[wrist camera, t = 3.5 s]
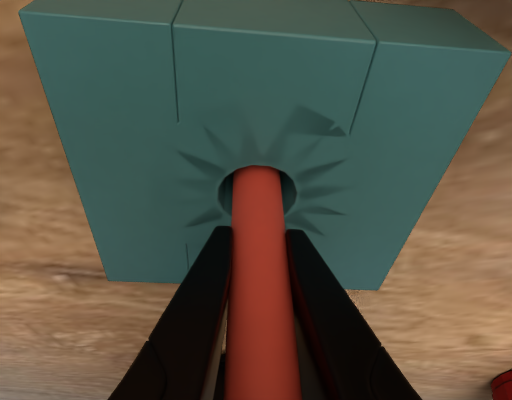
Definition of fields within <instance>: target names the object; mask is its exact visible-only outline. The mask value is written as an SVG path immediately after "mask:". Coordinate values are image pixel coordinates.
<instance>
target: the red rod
mask: <svg viewBox="0 0 512 400" xmlns="http://www.w3.org/2000/svg"><path fill="white" fill-rule="evenodd" d="M231 227H232V228H233V234H232V260H231V275H230V285H229V293H228V309H227V331H226V353H225V375H224V398H223V400H302V391H301V381H300V371H299V361H298V351H297V341H296V331H295V322H294V312H293V302H292V292H291V284H290V276H289V266H288V256H287V246H286V235H285V234H286V232H285V222H284V212H283V202H282V192H281V182H280V173H279V170H278V169H276V168H273V167H271V166H258V165H250V166H247V167H243V168H239V169H236V170H235V171H234V176H233V198H232V220H231Z"/></svg>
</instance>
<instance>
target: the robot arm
mask: <svg viewBox="0 0 512 400" xmlns="http://www.w3.org/2000/svg"><path fill="white" fill-rule="evenodd" d="M232 234H233V228H232V227H231V226H220V225H219V226H216V227H215V228H214V230H213V232H212V233H211V235H210V237H209V238H208V240H207V242H206V243H205V245H204V246H203V248H202V250H201V251H200V253H199V255H198V256H197V258H196V260H195V261H194V263H193V265H192V266H191V268H190V270H189V271H188V273H187V275H186V276H185V278H184V280H183V281H182V283H181V285H180V286H179V288H178V290H177V291H176V293H175V295H174V296H173V298H172V300H171V301H170V303H169V304H168V306H167V308H166V309H165V311H164V313H163V314H162V316H161V318H160V319H159V321H158V323H157V324H156V326H155V328H154V329H153V331H152V333H151V334H150V336H149V338H148V339H149V341H146V342H145V344H144V346H143V347H142V349H141V351H140V352H139V354H138V356H137V357H136V359H135V360H134V362H133V363H132V365H131V366H130V368H129V370H128V371H127V373H126V374H125V376H124V377H123V379H122V380H121V382H120V383H119V384H118V386H117V387H116V389H115V390H114V391H113V393H112V394H111V395H110V397H109V398H108V400H223V398H224V375H225V355H221V350H222V344H223V339H224V333H225V327H226V321H227V309H228V293H229V285H230V275H231V260H232ZM285 235H286V246H287V256H288V266H289V276H290V284H291V292H292V302H293V312H294V322H295V331H296V341H297V351H298V361H299V371H300V381H301V391H302V400H422V399H421V397H420V396H419V395H418V394H417V392H416V391H415V390H414V389H413V387H412V386H411V385H410V383H409V382H408V381H407V379H406V378H405V377H404V375H403V374H402V372H401V371H400V370H399V368H398V367H397V365H396V364H395V363H394V361H393V360H392V358H391V357H390V355H389V354H388V352H387V351H386V350H385V348H384V347H383V346H381V342H380V341H379V340H378V338H377V337H376V335H375V334H374V332H373V331H372V329H371V328H370V326H369V325H368V324H367V322H366V321H365V319H364V318H363V316H362V315H361V313H360V312H359V310H358V309H357V307H356V306H355V305H354V303H353V302H352V300H351V299H350V297H349V296H348V294H347V293H346V291H345V290H344V289H343V287H342V286H341V284H340V283H339V281H338V280H337V278H336V277H335V275H334V274H333V273H332V271H331V270H330V268H329V267H328V265H327V264H326V262H325V261H324V259H323V258H322V256H321V255H320V254H319V252H318V251H317V249H316V248H315V246H314V245H313V243H312V242H311V240H310V239H309V238H308V236H307V235H306V233H305V232H304V231H303V230H301V229H288V230H287V231H286V234H285Z"/></svg>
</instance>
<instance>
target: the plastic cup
mask: <svg viewBox="0 0 512 400" xmlns="http://www.w3.org/2000/svg"><path fill="white" fill-rule="evenodd" d="M491 389H492V392H493V394H492V397H493V400H512V371H510V372H507V373H505V374H502V375H500V376H499V377H497V378H496V379H495V380H493V382H492V384H491Z"/></svg>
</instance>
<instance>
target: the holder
mask: <svg viewBox="0 0 512 400" xmlns="http://www.w3.org/2000/svg"><path fill="white" fill-rule="evenodd" d="M19 16H20V19H21V22H22V25H23V28H24V31H25V34H26V37H27V40H28V43H29V46H30V49H31V52H32V55H33V58H34V61H35V64H36V67H37V70H38V73H39V76H40V79H41V82H42V85H43V88H44V91H45V94H46V97H47V100H48V103H49V106H50V109H51V112H52V115H53V118H54V121H55V124H56V127H57V130H58V133H59V136H60V139H61V142H62V145H63V148H64V151H65V154H66V157H67V160H68V163H69V166H70V169H71V172H72V175H73V178H74V180H75V183H76V186H77V189H78V192H79V195H80V198H81V201H82V204H83V207H84V210H85V213H86V216H87V219H88V222H89V225H90V228H91V231H92V234H93V237H94V240H95V243H96V246H97V249H98V252H99V255H100V258H101V261H102V264H103V267H104V270H105V273H106V276H107V279H108V281H123V282H152V283H180V284H181V283H182V281H183V280H184V278H185V276H186V275H187V273H188V271H189V270H190V268H191V266H192V265H193V263H194V261H195V260H196V258H197V256H198V255H199V253H200V251H201V250H202V248H203V246H204V245H205V243H206V242H207V240H208V238H209V237H210V235H211V233H212V232H213V230H214V228H215V227H216V226H219V225H220V226H231V220H232V198H233V176H234V171H235V170H236V169H239V168H243V167H247V166H250V165H258V166H271V167H273V168H276V169H278V170H279V173H280V182H281V192H282V202H283V212H284V222H285V232H286V231H287V230H288V229H301V230H303V231H304V232H305V233H306V235H307V236H308V238H309V239H310V240H311V242H312V243H313V245H314V246H315V248H316V249H317V251H318V252H319V254H320V255H321V256H322V258H323V259H324V261H325V262H326V264H327V265H328V267H329V268H330V270H331V271H332V273H333V274H334V275H335V277H336V278H337V280H338V281H339V283H340V284H341V286H342V287H343V289H351V290H379V288H380V286H381V284H382V283H383V281H384V279H385V277H386V275H387V274H388V272H389V270H390V268H391V267H392V265H393V263H394V261H395V260H396V258H397V256H398V254H399V252H400V251H401V249H402V247H403V245H404V244H405V242H406V240H407V238H408V236H409V235H410V233H411V231H412V229H413V228H414V226H415V224H416V222H417V221H418V219H419V217H420V215H421V213H422V212H423V210H424V208H425V206H426V205H427V203H428V201H429V199H430V197H431V196H432V194H433V192H434V190H435V189H436V187H437V185H438V183H439V182H440V180H441V178H442V176H443V174H444V173H445V171H446V169H447V167H448V166H449V164H450V162H451V160H452V158H453V157H454V155H455V153H456V151H457V150H458V148H459V146H460V144H461V143H462V141H463V139H464V137H465V135H466V134H467V132H468V130H469V128H470V127H471V125H472V123H473V121H474V119H475V118H476V116H477V114H478V112H479V111H480V109H481V107H482V105H483V104H484V102H485V100H486V98H487V96H488V95H489V93H490V91H491V89H492V88H493V86H494V84H495V82H496V81H497V79H498V77H499V75H500V73H501V72H502V70H503V68H504V66H505V65H506V63H507V61H508V59H509V57H510V56H511V52H510V51H509V50H508V49H506V48H505V47H504V46H502V45H501V44H499V43H498V42H497V41H495V40H494V39H493V38H491V37H490V36H489V35H487V34H486V33H485V32H483V31H482V30H481V29H479V28H478V27H476V26H475V25H474V24H472V23H471V22H470V21H468V20H467V19H466V18H464V17H463V16H462V15H460V14H459V13H458V12H456V11H455V10H453V9H442V8H431V7H421V6H410V5H399V4H388V3H377V2H366V1H355V0H350V1H347V0H34V1H33V2H31V3H30V4H28V5H27V6H25V7H24V8H22V9H21V10H19Z"/></svg>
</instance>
